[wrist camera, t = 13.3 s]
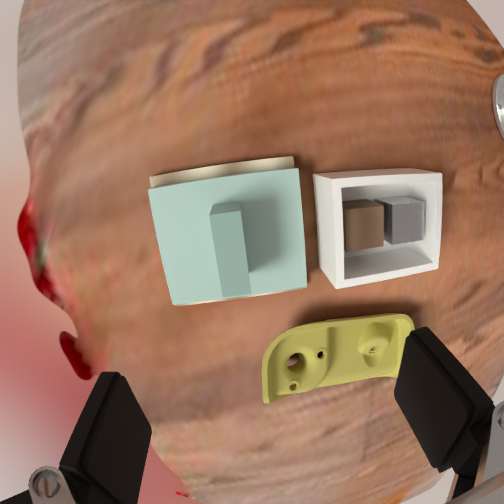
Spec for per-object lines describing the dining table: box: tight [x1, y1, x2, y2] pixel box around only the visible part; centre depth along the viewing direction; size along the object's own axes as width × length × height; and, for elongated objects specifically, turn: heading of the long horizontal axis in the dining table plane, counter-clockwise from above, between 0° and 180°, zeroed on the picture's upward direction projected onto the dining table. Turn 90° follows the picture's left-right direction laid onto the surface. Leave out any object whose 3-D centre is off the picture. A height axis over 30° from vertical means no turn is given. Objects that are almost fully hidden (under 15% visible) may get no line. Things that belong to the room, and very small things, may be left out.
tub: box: [312, 168, 442, 289], centre depth 28 cm, size 12×10×6 cm
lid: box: [148, 167, 307, 305], centre depth 27 cm, size 14×12×6 cm
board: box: [149, 156, 304, 306], centre depth 30 cm, size 14×14×1 cm
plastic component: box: [262, 313, 415, 403], centre depth 35 cm, size 20×7×10 cm
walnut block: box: [342, 199, 384, 252], centre depth 28 cm, size 4×4×4 cm
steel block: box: [374, 196, 425, 245], centre depth 28 cm, size 4×4×4 cm
